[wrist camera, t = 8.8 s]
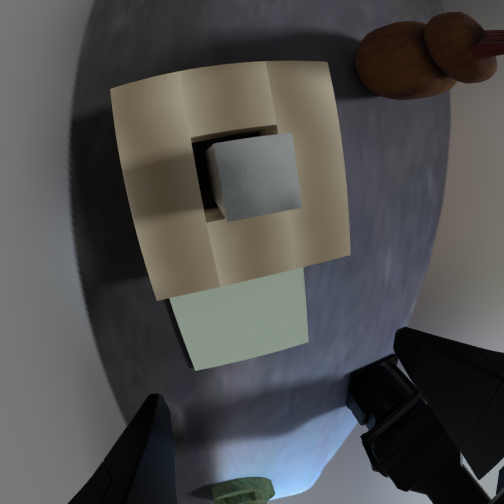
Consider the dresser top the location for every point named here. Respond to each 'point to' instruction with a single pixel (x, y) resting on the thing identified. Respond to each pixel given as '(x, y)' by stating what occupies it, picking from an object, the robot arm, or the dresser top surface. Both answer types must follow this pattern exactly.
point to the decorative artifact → (243, 491)
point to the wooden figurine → (427, 56)
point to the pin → (254, 176)
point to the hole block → (186, 181)
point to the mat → (243, 319)
